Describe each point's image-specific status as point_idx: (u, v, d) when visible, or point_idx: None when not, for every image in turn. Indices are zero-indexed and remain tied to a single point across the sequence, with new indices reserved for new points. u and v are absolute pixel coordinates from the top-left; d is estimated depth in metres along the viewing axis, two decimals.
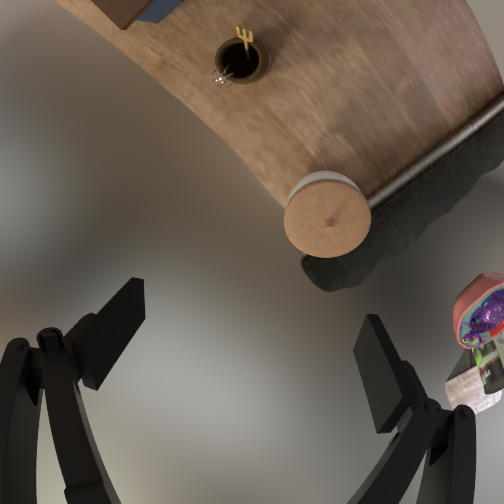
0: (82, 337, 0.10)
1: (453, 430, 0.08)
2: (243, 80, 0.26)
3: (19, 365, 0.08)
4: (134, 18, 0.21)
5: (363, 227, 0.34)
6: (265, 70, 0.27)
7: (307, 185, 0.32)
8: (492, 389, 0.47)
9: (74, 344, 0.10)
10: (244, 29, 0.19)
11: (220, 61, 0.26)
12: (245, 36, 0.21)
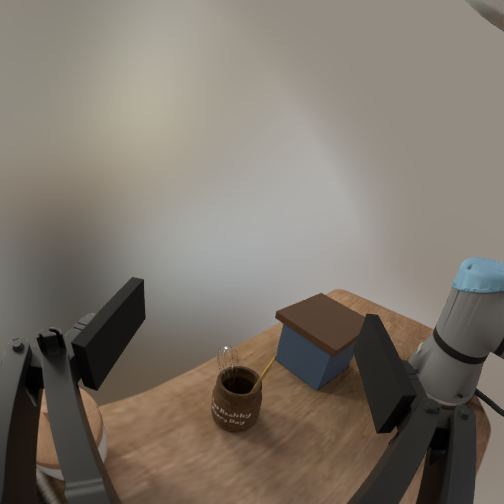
0: (82, 337, 0.10)
1: (453, 430, 0.08)
2: (219, 381, 0.30)
3: (19, 365, 0.08)
4: (284, 320, 0.41)
5: None
6: (227, 407, 0.29)
7: None
8: None
9: (74, 344, 0.10)
10: (273, 358, 0.28)
11: (237, 374, 0.33)
12: (265, 369, 0.29)
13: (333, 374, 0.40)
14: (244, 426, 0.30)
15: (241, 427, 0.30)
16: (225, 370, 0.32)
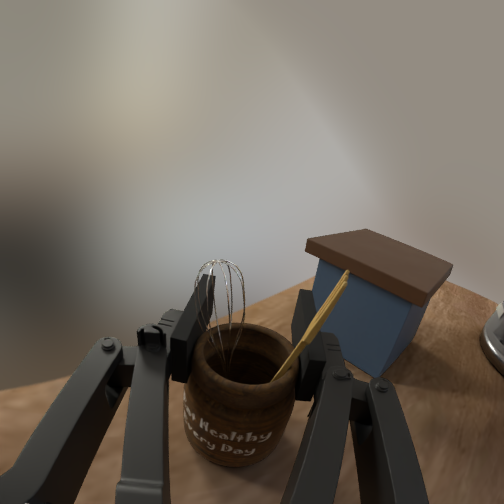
0: (180, 331, 0.12)
1: (374, 407, 0.09)
2: (197, 352, 0.12)
3: (104, 366, 0.09)
4: (322, 253, 0.23)
5: None
6: (215, 418, 0.11)
7: None
8: None
9: (174, 339, 0.12)
10: (344, 278, 0.10)
11: (242, 342, 0.16)
12: (319, 314, 0.11)
13: (399, 350, 0.23)
14: (254, 458, 0.13)
15: (247, 460, 0.13)
16: (214, 329, 0.14)
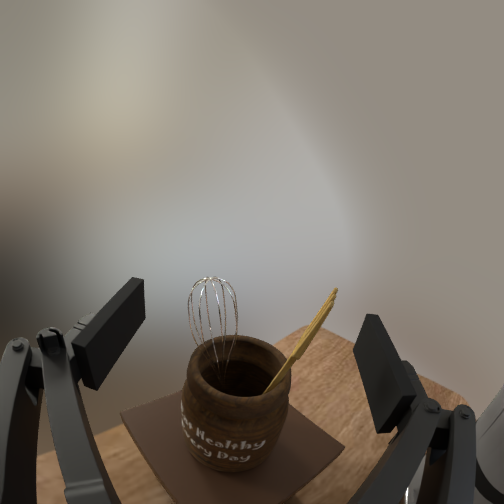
0: (82, 337, 0.10)
1: (453, 430, 0.08)
2: (192, 366, 0.13)
3: (19, 365, 0.08)
4: (131, 434, 0.15)
5: None
6: (211, 427, 0.12)
7: None
8: None
9: (74, 344, 0.10)
10: (332, 296, 0.11)
11: (236, 353, 0.16)
12: (308, 331, 0.11)
13: None
14: (250, 464, 0.13)
15: (243, 466, 0.13)
16: (209, 342, 0.15)
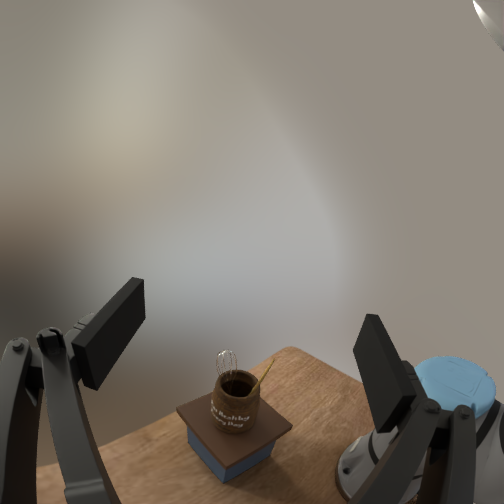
0: (82, 337, 0.10)
1: (453, 430, 0.08)
2: (218, 384, 0.30)
3: (19, 365, 0.08)
4: (183, 418, 0.33)
5: None
6: (226, 410, 0.29)
7: None
8: None
9: (74, 344, 0.10)
10: (271, 362, 0.28)
11: (236, 377, 0.33)
12: (263, 373, 0.29)
13: (243, 469, 0.32)
14: (242, 428, 0.30)
15: (239, 429, 0.30)
16: (224, 373, 0.32)
